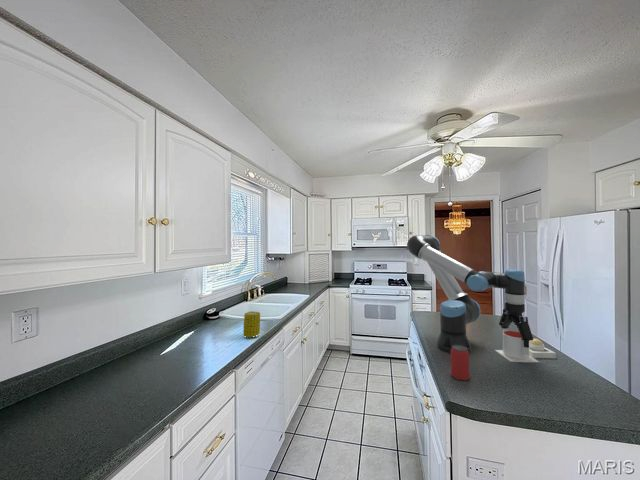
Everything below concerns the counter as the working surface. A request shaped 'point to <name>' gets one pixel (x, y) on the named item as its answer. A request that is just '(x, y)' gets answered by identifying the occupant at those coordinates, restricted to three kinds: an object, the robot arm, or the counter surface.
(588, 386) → the counter surface
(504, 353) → the pad
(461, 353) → the beer can
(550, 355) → the dome base
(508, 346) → the cup
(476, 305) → the robot arm
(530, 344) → the dome
